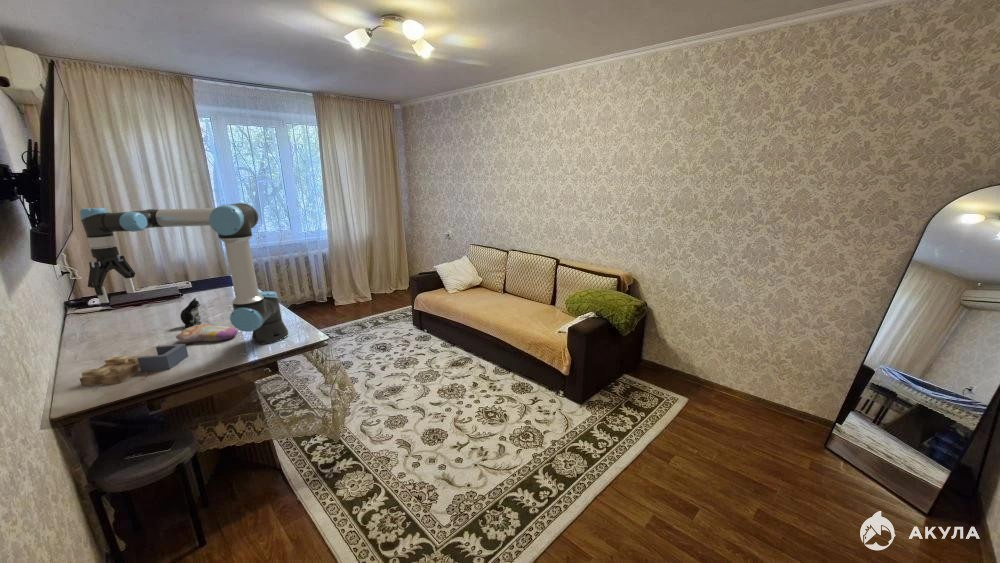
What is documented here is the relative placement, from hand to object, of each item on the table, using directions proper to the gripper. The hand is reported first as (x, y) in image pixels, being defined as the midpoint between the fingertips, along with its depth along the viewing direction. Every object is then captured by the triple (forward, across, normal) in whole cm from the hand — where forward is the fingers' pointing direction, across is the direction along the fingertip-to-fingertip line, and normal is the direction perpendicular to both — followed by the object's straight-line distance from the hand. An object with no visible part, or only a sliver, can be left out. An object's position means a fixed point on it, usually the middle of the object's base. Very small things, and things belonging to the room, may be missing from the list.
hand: (118, 297), depth 157 cm
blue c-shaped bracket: (+28, +7, +16) cm, 33 cm away
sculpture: (+28, -20, +19) cm, 39 cm away
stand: (+28, +15, +3) cm, 32 cm away
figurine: (+28, -37, +2) cm, 47 cm away
